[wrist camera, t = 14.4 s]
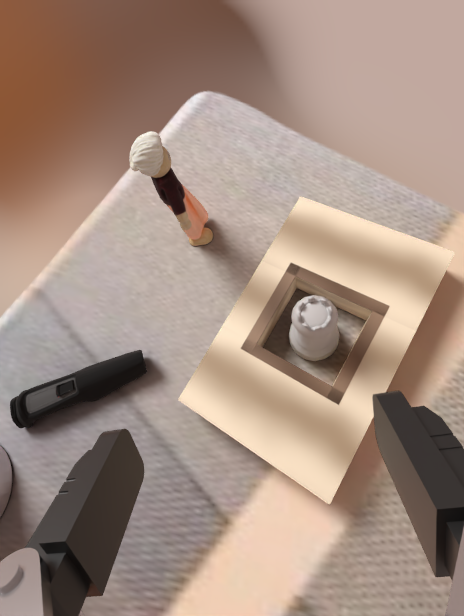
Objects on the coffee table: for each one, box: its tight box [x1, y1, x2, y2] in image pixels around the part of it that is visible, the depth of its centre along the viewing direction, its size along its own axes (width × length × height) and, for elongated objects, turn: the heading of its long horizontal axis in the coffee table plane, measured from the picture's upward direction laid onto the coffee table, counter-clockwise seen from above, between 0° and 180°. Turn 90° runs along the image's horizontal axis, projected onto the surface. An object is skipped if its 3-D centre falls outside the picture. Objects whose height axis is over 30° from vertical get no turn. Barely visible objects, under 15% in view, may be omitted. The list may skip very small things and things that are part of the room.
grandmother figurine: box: [130, 132, 213, 246], centre depth 31 cm, size 8×4×13 cm, turn 36°
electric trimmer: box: [10, 350, 147, 428], centre depth 32 cm, size 4×16×3 cm, turn 109°
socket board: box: [178, 196, 455, 505], centre depth 29 cm, size 22×14×3 cm, turn 148°
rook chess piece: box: [289, 295, 339, 361], centre depth 26 cm, size 4×4×8 cm
